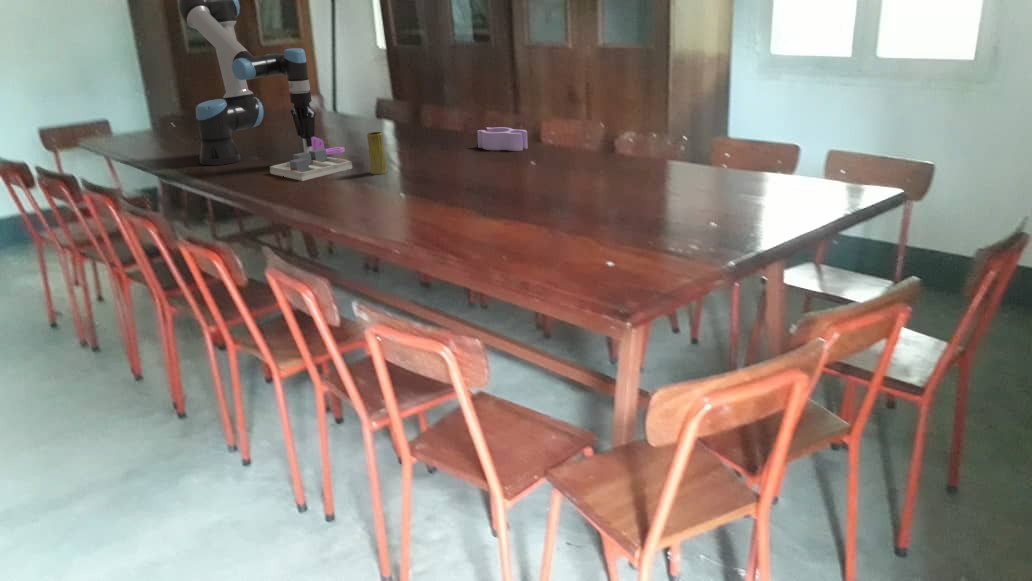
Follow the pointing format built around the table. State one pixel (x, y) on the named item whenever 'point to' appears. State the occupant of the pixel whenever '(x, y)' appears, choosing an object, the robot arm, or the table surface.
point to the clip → (502, 139)
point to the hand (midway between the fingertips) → (308, 154)
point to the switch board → (312, 169)
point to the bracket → (319, 144)
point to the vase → (376, 153)
